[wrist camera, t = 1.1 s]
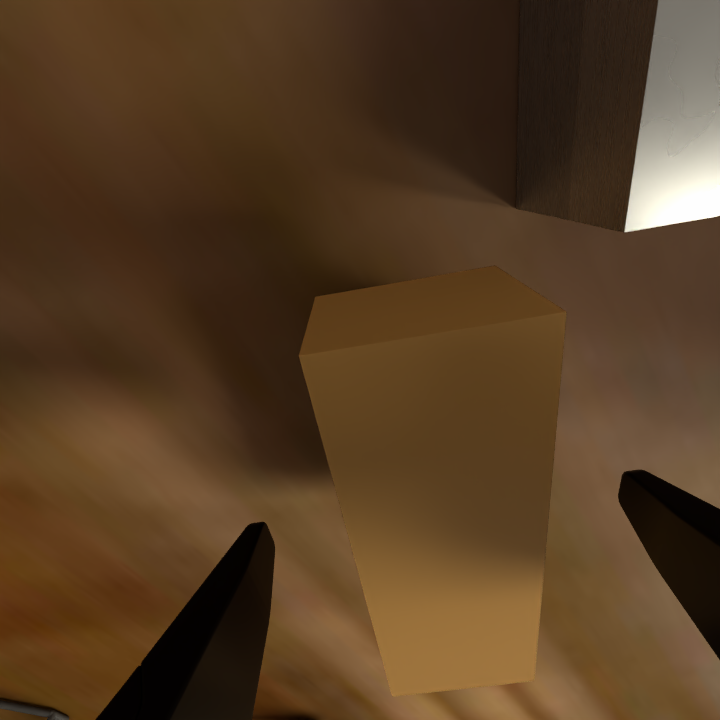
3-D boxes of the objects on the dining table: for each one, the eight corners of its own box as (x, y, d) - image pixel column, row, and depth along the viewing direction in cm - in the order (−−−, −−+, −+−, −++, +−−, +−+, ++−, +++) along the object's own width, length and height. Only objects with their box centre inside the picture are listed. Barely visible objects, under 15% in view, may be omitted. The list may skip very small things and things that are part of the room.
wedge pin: (450, 237, 12) (566, 311, 5) (465, 489, 17) (534, 680, 10) (325, 259, 12) (298, 356, 6) (376, 501, 17) (392, 697, 11)
